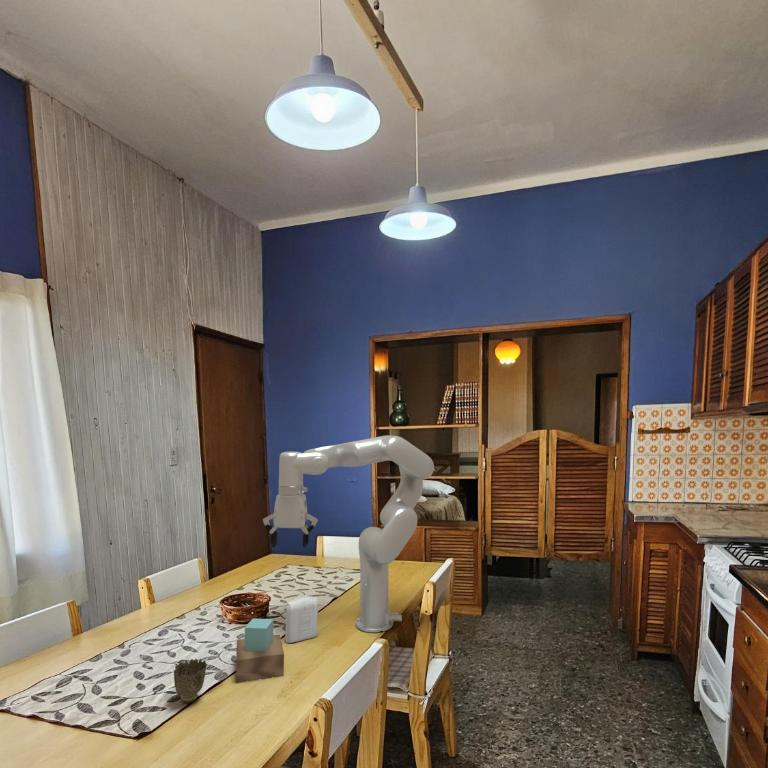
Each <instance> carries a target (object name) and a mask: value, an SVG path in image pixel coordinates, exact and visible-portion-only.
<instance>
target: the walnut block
mask: <svg viewBox="0 0 768 768" xmlns="http://www.w3.org/2000/svg"><path fill="white" fill-rule="evenodd" d="M244 640H245V638H241V639H236V649H235V650H236V652H235V653H236V657H235V670H236V671H235V673H236V675H235V676H236V677H235V679H236V680H235V681H236V682H235V683H236V684H240V683H247V681H248V682H253V680H254V681H260V680H259V679H261V680H266V678H267V679H273V678H279V677H284V676H285V675H284V674H285V673H284V672H285V670H284V669H285V653H284V652H285V651H284V648H283V643H282V638H281V634H273V642H272V644H271V645H270V646H269V648H268V649H267V651H266V652H261V651H244ZM272 677H273V678H272Z"/></svg>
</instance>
